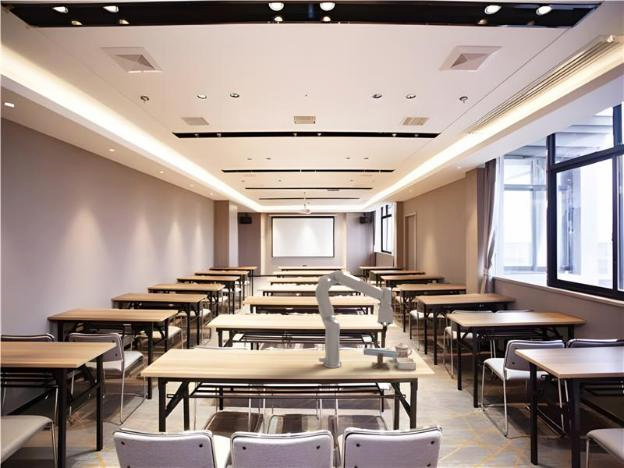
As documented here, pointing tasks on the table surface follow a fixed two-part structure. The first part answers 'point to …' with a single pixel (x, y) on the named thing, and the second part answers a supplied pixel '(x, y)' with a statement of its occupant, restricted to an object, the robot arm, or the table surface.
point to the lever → (380, 352)
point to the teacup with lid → (402, 350)
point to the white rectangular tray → (406, 363)
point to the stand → (380, 363)
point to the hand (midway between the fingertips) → (384, 331)
